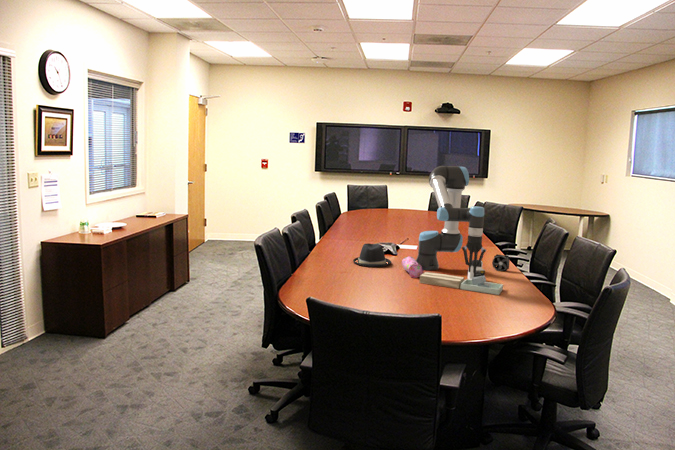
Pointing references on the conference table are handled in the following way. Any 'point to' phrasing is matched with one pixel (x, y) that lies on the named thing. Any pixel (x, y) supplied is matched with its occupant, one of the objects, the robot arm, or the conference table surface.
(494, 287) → the tray
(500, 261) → the cpu cooler
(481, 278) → the tile rear
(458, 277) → the wooden block
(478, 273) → the medicine bottle
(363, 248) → the fedora
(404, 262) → the pencil case
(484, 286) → the tile front
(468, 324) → the conference table surface
